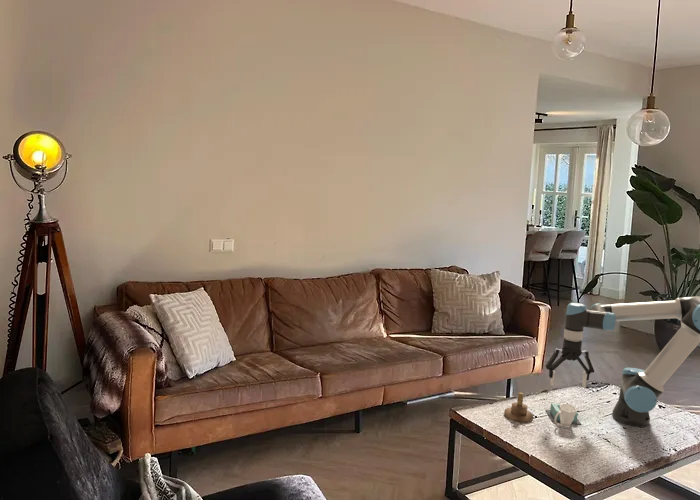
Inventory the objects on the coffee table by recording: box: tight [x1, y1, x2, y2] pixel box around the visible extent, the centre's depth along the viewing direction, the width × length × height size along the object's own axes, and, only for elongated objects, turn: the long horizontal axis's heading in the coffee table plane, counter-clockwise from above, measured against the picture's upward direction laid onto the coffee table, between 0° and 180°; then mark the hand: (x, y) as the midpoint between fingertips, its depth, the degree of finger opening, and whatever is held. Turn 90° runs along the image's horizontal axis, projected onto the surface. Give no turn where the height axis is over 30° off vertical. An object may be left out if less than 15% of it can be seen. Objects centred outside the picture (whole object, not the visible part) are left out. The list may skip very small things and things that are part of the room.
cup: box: [554, 403, 578, 428], centre depth 249 cm, size 7×10×8 cm
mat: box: [545, 409, 582, 426], centre depth 258 cm, size 12×12×1 cm
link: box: [549, 402, 579, 422], centre depth 258 cm, size 9×9×4 cm
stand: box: [503, 392, 534, 423], centre depth 256 cm, size 12×12×10 cm
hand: (567, 386), depth 256 cm, fingers open, 13 cm apart
